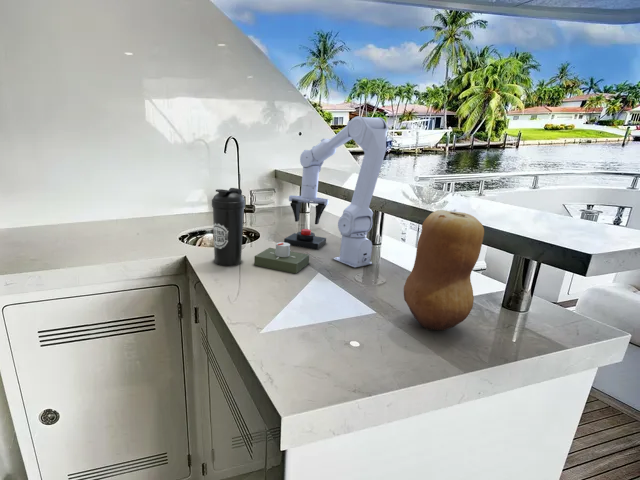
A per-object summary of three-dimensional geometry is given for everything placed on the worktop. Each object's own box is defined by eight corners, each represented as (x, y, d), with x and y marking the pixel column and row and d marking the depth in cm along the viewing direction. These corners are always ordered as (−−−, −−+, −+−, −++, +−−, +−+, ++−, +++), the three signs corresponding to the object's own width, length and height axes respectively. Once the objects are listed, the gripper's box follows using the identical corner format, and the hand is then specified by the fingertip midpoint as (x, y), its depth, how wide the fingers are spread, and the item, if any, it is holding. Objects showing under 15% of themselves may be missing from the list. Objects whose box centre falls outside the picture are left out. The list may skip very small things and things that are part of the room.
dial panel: (308, 263, 121) (309, 254, 120) (296, 273, 112) (296, 263, 111) (269, 256, 128) (269, 247, 127) (254, 265, 119) (254, 255, 118)
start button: (312, 234, 142) (312, 229, 142) (308, 236, 139) (309, 231, 139) (302, 232, 144) (303, 228, 143) (299, 234, 141) (299, 230, 140)
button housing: (325, 243, 144) (326, 233, 143) (317, 249, 136) (318, 239, 134) (293, 238, 150) (294, 228, 149) (283, 244, 142) (284, 233, 140)
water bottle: (205, 261, 121) (204, 188, 113) (227, 254, 128) (228, 185, 120) (227, 269, 114) (228, 192, 107) (250, 261, 122) (252, 189, 114)
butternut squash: (480, 337, 79) (512, 219, 70) (424, 343, 76) (450, 220, 68) (435, 308, 91) (457, 205, 83) (385, 312, 89) (402, 206, 80)
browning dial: (282, 252, 122) (282, 240, 121) (292, 255, 119) (293, 243, 117) (272, 254, 119) (273, 242, 118) (282, 258, 116) (283, 245, 115)
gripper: (286, 184, 136) (284, 222, 140) (326, 188, 129) (322, 227, 133) (293, 182, 141) (291, 218, 146) (332, 186, 135) (328, 223, 139)
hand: (306, 222), depth 140 cm, fingers open, 7 cm apart
